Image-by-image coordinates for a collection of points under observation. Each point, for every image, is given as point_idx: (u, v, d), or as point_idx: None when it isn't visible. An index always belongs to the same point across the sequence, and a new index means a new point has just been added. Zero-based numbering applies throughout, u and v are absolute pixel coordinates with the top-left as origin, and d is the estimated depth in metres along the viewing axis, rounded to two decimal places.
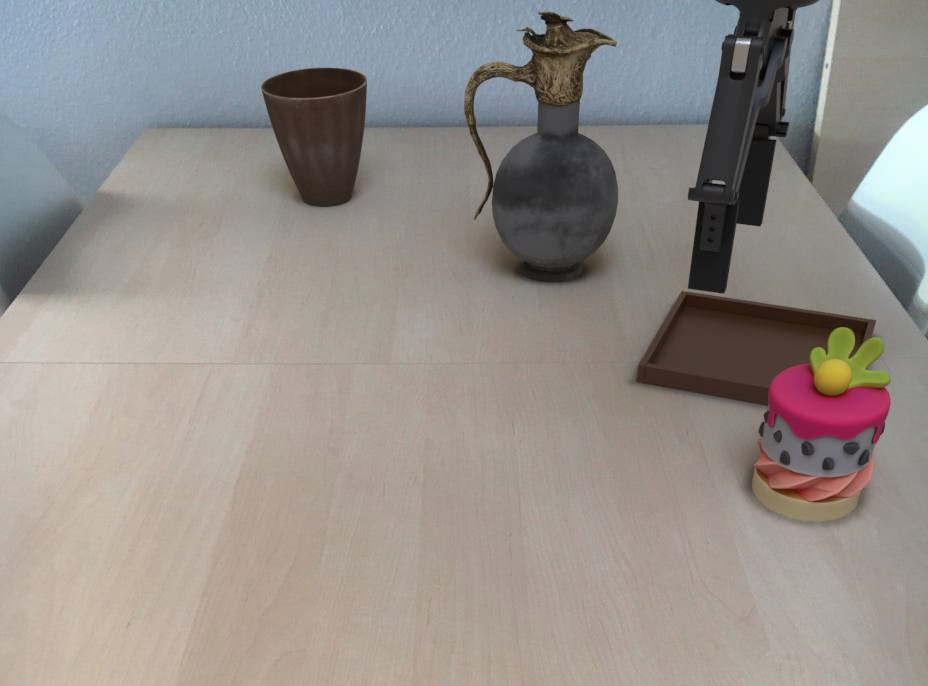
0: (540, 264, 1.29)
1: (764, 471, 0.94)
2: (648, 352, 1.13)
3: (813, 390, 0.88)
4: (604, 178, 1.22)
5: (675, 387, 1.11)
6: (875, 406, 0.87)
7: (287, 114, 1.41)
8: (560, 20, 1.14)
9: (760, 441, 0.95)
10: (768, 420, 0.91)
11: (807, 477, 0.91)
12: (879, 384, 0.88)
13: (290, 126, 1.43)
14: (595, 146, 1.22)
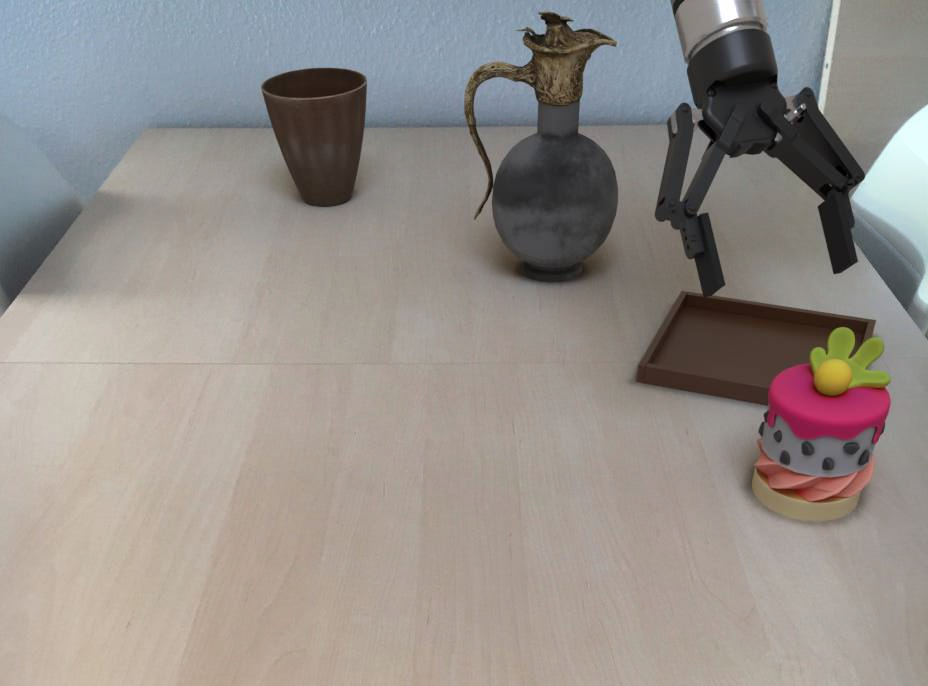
0: (540, 264, 1.29)
1: (764, 471, 0.94)
2: (648, 352, 1.13)
3: (813, 390, 0.88)
4: (604, 178, 1.22)
5: (675, 387, 1.11)
6: (875, 406, 0.87)
7: (287, 114, 1.41)
8: (560, 20, 1.14)
9: (760, 441, 0.95)
10: (768, 420, 0.91)
11: (807, 477, 0.91)
12: (879, 384, 0.88)
13: (290, 126, 1.43)
14: (595, 146, 1.22)
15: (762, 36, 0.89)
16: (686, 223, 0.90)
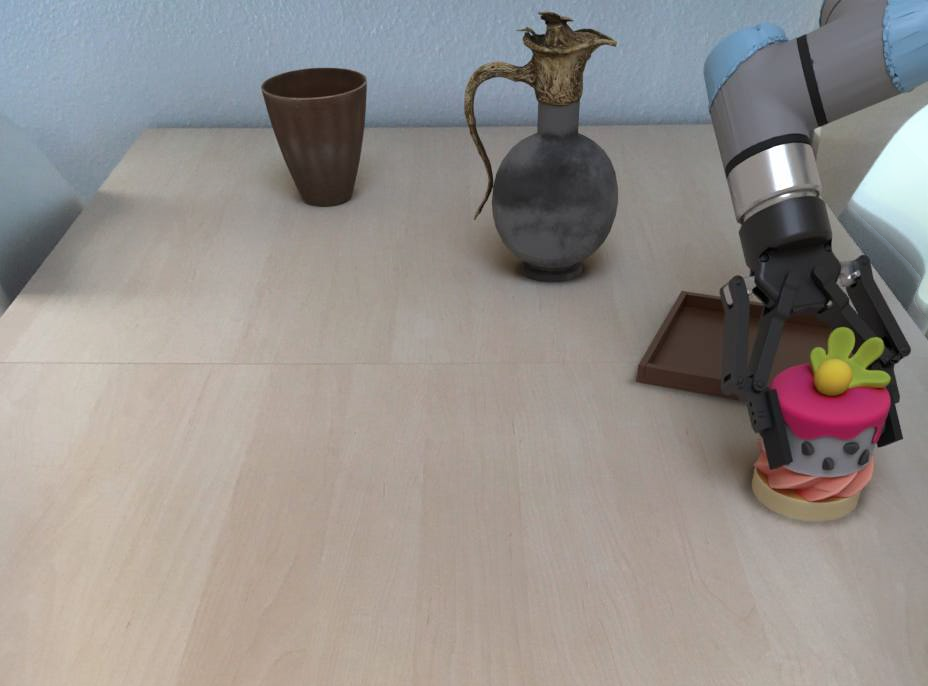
0: (540, 264, 1.29)
1: (764, 471, 0.94)
2: (648, 352, 1.13)
3: (813, 390, 0.88)
4: (604, 178, 1.22)
5: (675, 387, 1.11)
6: (875, 406, 0.87)
7: (287, 114, 1.41)
8: (560, 20, 1.14)
9: (760, 441, 0.95)
10: None
11: (807, 477, 0.91)
12: (879, 384, 0.88)
13: (290, 126, 1.43)
14: (595, 146, 1.22)
15: (817, 203, 0.88)
16: (753, 399, 0.89)
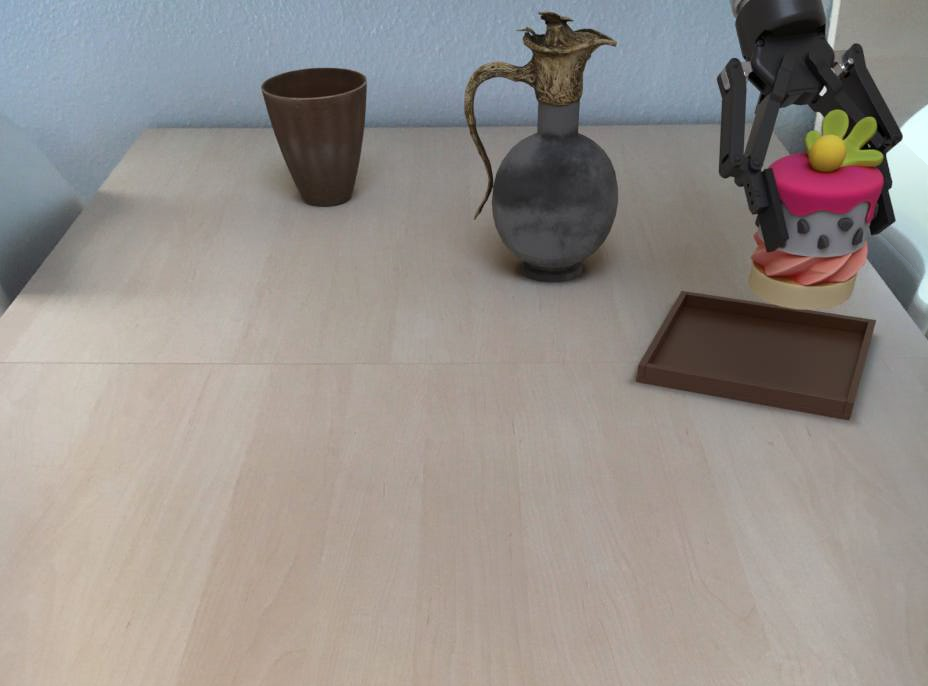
0: (540, 264, 1.29)
1: (761, 261, 0.97)
2: (648, 352, 1.13)
3: (808, 168, 0.91)
4: (604, 178, 1.22)
5: (675, 387, 1.11)
6: (868, 181, 0.90)
7: (287, 114, 1.41)
8: (560, 20, 1.14)
9: (757, 233, 0.97)
10: None
11: (803, 259, 0.93)
12: (872, 162, 0.91)
13: (290, 126, 1.43)
14: (595, 146, 1.22)
15: None
16: (750, 178, 0.91)
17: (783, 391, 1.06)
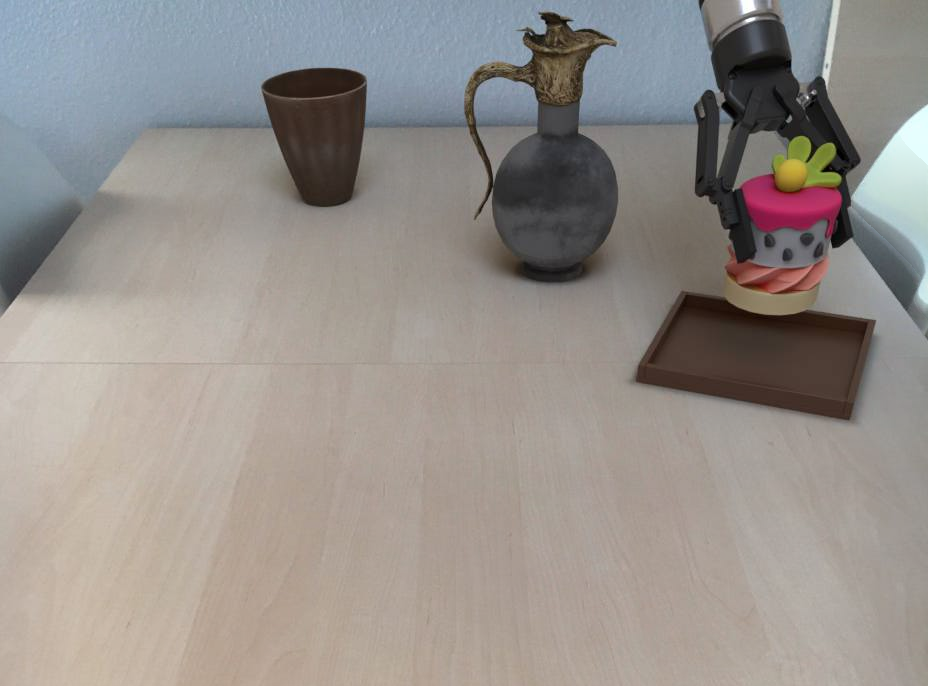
0: (540, 264, 1.29)
1: (733, 271, 1.08)
2: (648, 352, 1.13)
3: (774, 189, 1.02)
4: (604, 178, 1.22)
5: (675, 387, 1.11)
6: (827, 200, 1.00)
7: (287, 114, 1.41)
8: (560, 20, 1.14)
9: (730, 245, 1.08)
10: None
11: (770, 269, 1.04)
12: (831, 183, 1.02)
13: (290, 126, 1.43)
14: (595, 146, 1.22)
15: (777, 26, 1.01)
16: (722, 197, 1.02)
17: (783, 391, 1.06)
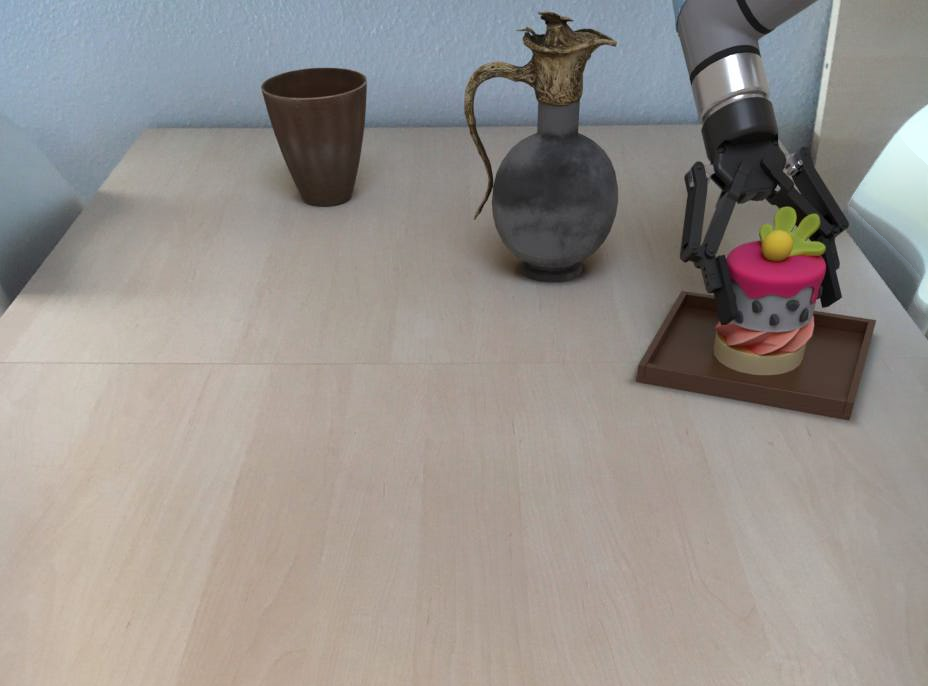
0: (540, 264, 1.29)
1: (723, 332, 1.12)
2: (648, 352, 1.13)
3: (761, 257, 1.06)
4: (604, 178, 1.22)
5: (675, 387, 1.11)
6: (812, 269, 1.05)
7: (287, 114, 1.41)
8: (560, 20, 1.14)
9: None
10: None
11: (757, 333, 1.09)
12: (816, 252, 1.06)
13: (290, 126, 1.43)
14: (595, 146, 1.22)
15: (764, 103, 1.06)
16: (706, 263, 1.07)
17: (783, 391, 1.06)
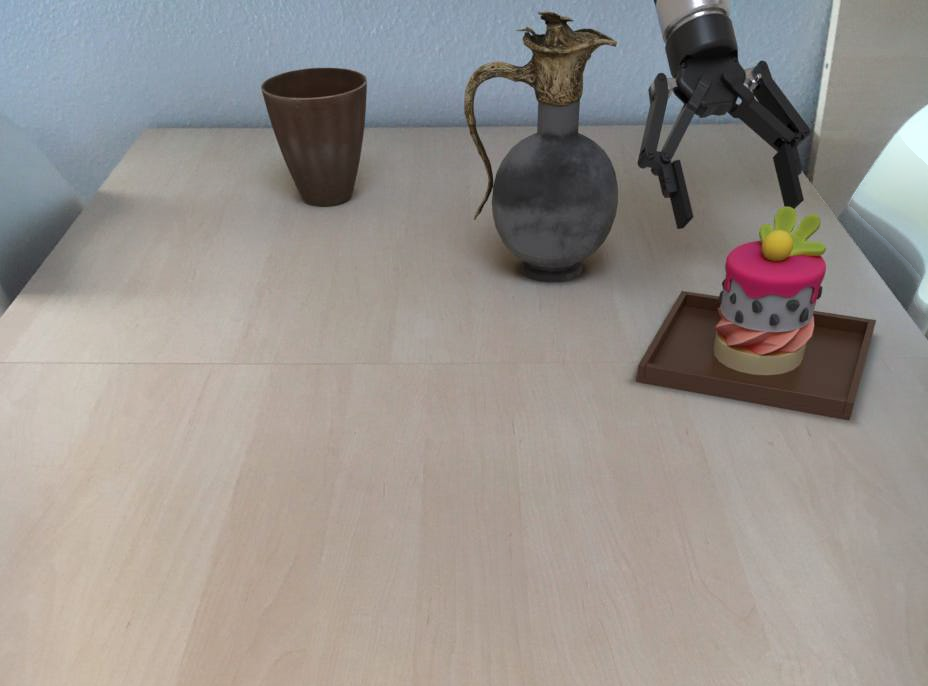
0: (540, 264, 1.29)
1: (723, 332, 1.12)
2: (648, 352, 1.13)
3: (761, 257, 1.06)
4: (604, 178, 1.22)
5: (675, 387, 1.11)
6: (812, 269, 1.05)
7: (287, 114, 1.41)
8: (560, 20, 1.14)
9: (720, 308, 1.13)
10: (725, 286, 1.09)
11: (757, 333, 1.09)
12: (816, 252, 1.06)
13: (290, 126, 1.43)
14: (595, 146, 1.22)
15: (724, 19, 1.12)
16: (662, 168, 1.12)
17: (783, 391, 1.06)
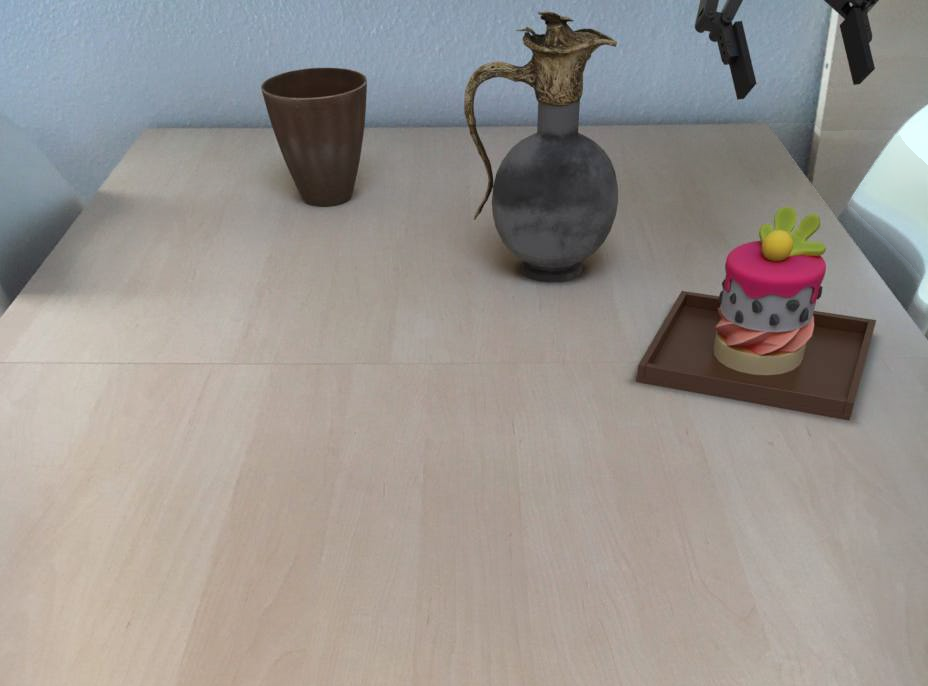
0: (540, 264, 1.29)
1: (723, 332, 1.12)
2: (648, 352, 1.13)
3: (761, 257, 1.06)
4: (604, 178, 1.22)
5: (675, 387, 1.11)
6: (812, 269, 1.05)
7: (287, 114, 1.41)
8: (560, 20, 1.14)
9: (720, 308, 1.13)
10: (725, 286, 1.09)
11: (757, 333, 1.09)
12: (816, 252, 1.06)
13: (290, 126, 1.43)
14: (595, 146, 1.22)
15: None
16: (722, 31, 1.03)
17: (783, 391, 1.06)
